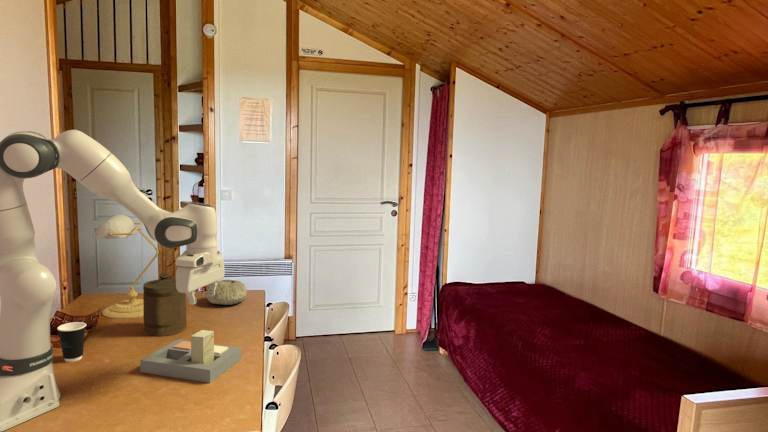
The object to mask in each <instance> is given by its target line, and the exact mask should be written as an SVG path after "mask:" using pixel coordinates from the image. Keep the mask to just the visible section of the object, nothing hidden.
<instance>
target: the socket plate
mask: <svg viewBox="0 0 768 432" xmlns="http://www.w3.org/2000/svg"><path fill="white" fill-rule="evenodd" d="M241 360H242V347H241V346H234V345H233V346H231V345H224V344H218V343H217V344H216V343H214V361H213V362H212V363H210V364H209V365H208V364H201V363H194V362H191V340H187V339H180V338H178V339H175V340H173V341H172V342H169V343H168V344H166V345H165V346H162V347H161V348H159V349H158V350H156V351H154V352H152V353H150V354H148V355H147V356H145V357H143V358H141V359H139V362H140V364H139V366H140V369H139V370H140V373H144V374H149V375H157V376H163V377H169V378H175V379H180V380H181V379H182V380H188V381H196V382H202V383H207V384H211V383H212V382H213V381H215V380H216V379H217V378H219V377H220V376H221V375H223V374H224V373H225V372H226V371H228V370H230V368H232V367H233V366H235V364H237V363H239V361H241Z"/></svg>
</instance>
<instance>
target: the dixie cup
mask: <svg viewBox="0 0 768 432" xmlns="http://www.w3.org/2000/svg"><path fill="white" fill-rule="evenodd" d="M86 327H87V323H85V322H81V321H74V322H67V323H63V324H60V325H59V326H58V327H57V328H56V330H57V331H58V336H59V341H60V346H61V352H62V356H63V359H64V361H65V363H67V362H68V363H69V362H71V363H72V362H76V361H77V362H78V361H80V360H81V359H82V358H83V354H84V349H85V348H84V347H85V338H86V337H85V335H86Z"/></svg>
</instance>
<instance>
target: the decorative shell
mask: <svg viewBox="0 0 768 432" xmlns="http://www.w3.org/2000/svg"><path fill="white" fill-rule="evenodd" d="M208 290H209V287H207V288H206V291H205V298H206V300H207V301H209V302H210V303H211V304H215V305H225V306H230V305H231V306H233V305H237V304H238V303H241V302H243V300H244V299H246V296H247V293H248V288H246V285H245V283H242V282H241V281H240V280H237V279H221V280H218V281H217V286H216V289H215V295H214V296H208V295H207V294H208V293H207V291H208Z"/></svg>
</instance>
